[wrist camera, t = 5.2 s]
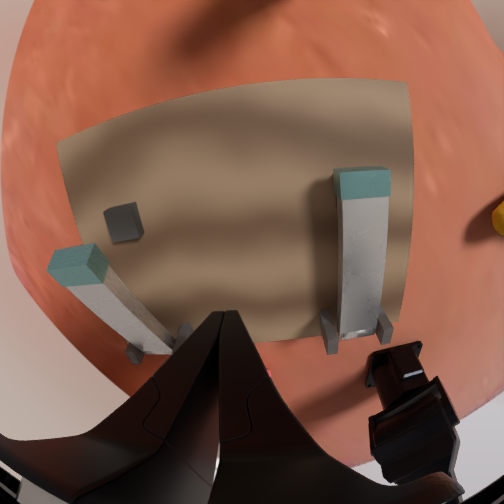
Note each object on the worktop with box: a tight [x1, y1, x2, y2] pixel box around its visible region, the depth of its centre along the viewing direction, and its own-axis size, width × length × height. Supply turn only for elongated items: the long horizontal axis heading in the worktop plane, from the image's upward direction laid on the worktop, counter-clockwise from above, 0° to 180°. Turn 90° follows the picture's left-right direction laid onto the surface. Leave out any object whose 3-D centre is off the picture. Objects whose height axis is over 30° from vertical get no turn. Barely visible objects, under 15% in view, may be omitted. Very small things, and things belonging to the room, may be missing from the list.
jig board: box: [56, 78, 414, 365], centre depth 18 cm, size 20×26×6 cm
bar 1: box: [46, 243, 176, 355], centre depth 17 cm, size 13×3×1 cm, turn 8°
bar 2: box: [333, 166, 391, 341], centre depth 17 cm, size 13×3×1 cm, turn 8°
